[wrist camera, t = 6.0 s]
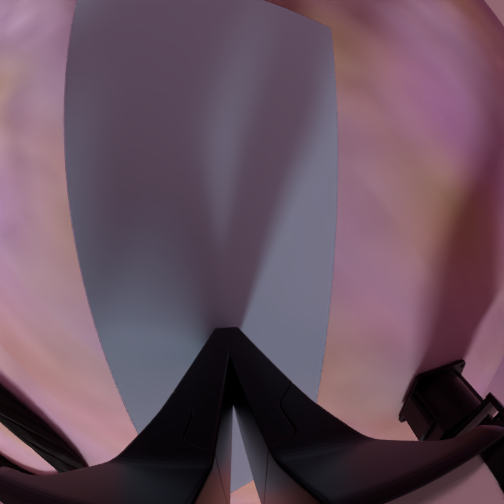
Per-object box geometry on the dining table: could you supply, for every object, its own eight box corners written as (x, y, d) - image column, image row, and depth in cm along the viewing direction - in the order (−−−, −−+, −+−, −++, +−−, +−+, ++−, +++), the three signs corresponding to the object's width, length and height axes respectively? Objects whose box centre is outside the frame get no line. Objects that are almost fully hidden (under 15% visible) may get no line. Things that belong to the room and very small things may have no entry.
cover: (315, 32, 9) (331, 28, 9) (300, 436, 16) (308, 442, 16) (79, -12, 4) (83, -27, 3) (179, 504, 11) (186, 514, 11)
